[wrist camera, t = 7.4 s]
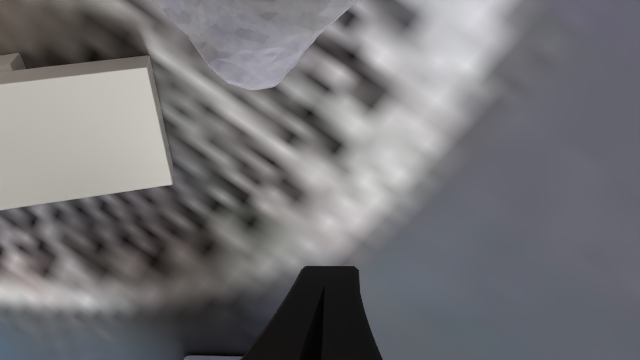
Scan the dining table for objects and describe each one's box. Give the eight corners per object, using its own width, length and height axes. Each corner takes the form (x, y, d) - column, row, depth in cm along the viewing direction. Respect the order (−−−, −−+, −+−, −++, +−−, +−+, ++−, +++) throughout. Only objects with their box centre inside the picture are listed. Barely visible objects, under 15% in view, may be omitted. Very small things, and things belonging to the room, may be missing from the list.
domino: (172, 184, 23) (-36, 215, 21) (173, 166, 24) (-23, 195, 23) (146, 67, 20) (-91, 94, 19) (149, 55, 22) (-72, 80, 20)
